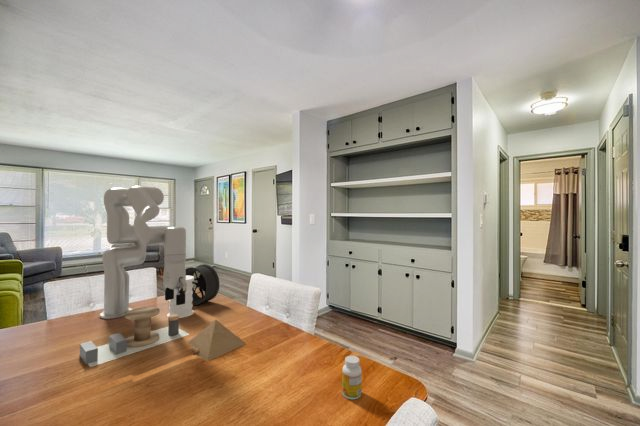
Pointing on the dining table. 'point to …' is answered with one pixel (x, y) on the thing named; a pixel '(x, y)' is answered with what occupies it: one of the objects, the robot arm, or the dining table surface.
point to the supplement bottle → (351, 378)
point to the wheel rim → (204, 283)
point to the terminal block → (91, 351)
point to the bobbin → (142, 326)
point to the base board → (108, 355)
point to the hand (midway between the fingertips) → (174, 301)
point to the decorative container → (185, 308)
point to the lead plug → (173, 325)
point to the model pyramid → (214, 341)
